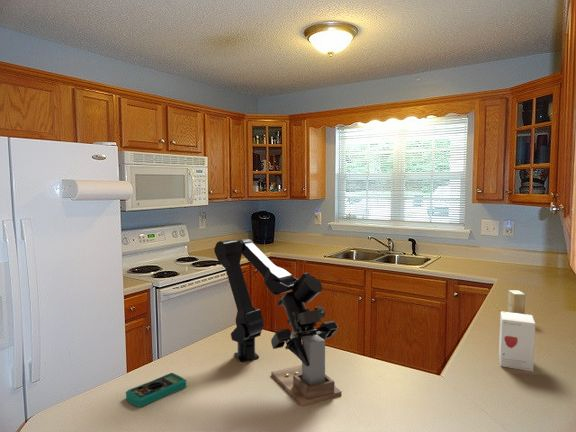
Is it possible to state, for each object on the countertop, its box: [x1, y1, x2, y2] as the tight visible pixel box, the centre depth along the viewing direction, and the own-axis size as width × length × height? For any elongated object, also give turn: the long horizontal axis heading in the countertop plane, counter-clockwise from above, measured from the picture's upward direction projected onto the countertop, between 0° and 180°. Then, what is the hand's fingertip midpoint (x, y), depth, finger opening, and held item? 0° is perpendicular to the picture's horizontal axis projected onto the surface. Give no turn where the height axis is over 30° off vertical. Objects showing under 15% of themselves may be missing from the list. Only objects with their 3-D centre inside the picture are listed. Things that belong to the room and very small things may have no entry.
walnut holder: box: [270, 364, 343, 407], centre depth 113 cm, size 19×12×4 cm, turn 26°
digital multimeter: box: [125, 372, 187, 409], centre depth 109 cm, size 7×15×3 cm, turn 138°
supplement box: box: [498, 311, 536, 373], centre depth 125 cm, size 9×9×15 cm
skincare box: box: [507, 289, 527, 314], centre depth 165 cm, size 6×4×12 cm
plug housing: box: [301, 335, 326, 386], centre depth 108 cm, size 4×4×13 cm
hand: (316, 363), depth 107 cm, fingers closed on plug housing, 4 cm apart
